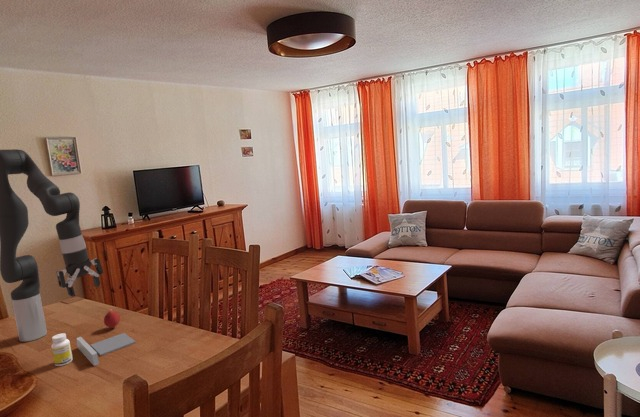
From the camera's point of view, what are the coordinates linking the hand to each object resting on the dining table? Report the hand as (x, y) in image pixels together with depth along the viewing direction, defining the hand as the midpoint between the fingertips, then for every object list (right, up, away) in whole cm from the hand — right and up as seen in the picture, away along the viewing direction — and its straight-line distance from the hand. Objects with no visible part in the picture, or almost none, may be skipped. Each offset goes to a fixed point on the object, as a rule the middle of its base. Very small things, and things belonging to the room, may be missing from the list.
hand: (85, 291), depth 143 cm
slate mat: (+8, -21, +4) cm, 23 cm away
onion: (0, -19, +19) cm, 27 cm away
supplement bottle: (-3, -23, -7) cm, 25 cm away
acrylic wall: (+3, -22, -4) cm, 23 cm away
